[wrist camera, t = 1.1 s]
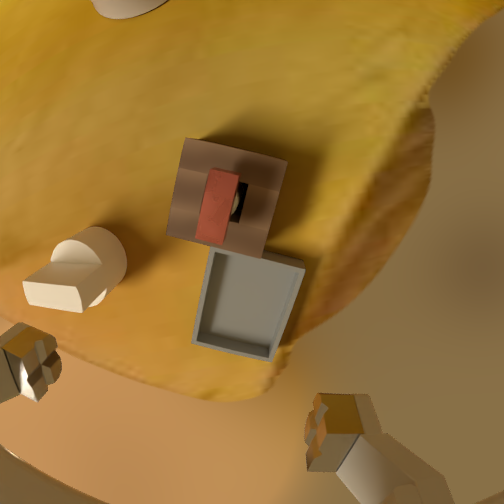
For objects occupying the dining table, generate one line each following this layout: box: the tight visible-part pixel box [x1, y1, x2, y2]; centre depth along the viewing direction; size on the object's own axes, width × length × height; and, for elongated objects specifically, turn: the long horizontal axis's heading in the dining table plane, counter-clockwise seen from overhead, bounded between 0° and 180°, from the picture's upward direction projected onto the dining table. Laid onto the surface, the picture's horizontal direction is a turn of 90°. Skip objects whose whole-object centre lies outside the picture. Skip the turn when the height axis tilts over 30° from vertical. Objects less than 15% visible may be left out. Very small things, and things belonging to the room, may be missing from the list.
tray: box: [191, 247, 306, 362], centre depth 37 cm, size 14×11×3 cm
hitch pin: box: [195, 167, 244, 245], centre depth 29 cm, size 6×3×10 cm, turn 166°
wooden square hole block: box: [166, 138, 288, 259], centre depth 31 cm, size 10×10×6 cm
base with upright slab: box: [23, 226, 127, 313], centre depth 32 cm, size 9×9×12 cm
